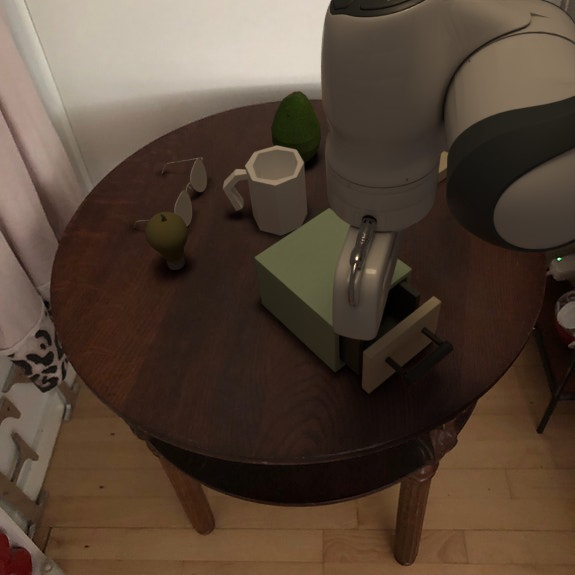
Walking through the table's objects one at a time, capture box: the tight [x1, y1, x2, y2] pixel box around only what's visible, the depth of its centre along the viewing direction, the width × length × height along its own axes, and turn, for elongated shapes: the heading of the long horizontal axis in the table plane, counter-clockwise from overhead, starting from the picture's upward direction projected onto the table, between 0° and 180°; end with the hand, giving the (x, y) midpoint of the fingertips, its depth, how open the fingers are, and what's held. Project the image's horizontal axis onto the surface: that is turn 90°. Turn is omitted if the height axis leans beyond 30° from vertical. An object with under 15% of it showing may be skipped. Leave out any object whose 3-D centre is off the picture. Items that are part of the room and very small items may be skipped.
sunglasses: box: [132, 157, 208, 229], centre depth 97 cm, size 14×8×5 cm, turn 168°
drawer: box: [339, 280, 455, 395], centre depth 75 cm, size 18×11×8 cm, turn 40°
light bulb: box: [145, 211, 189, 271], centre depth 86 cm, size 6×6×10 cm
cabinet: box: [253, 207, 413, 373], centre depth 79 cm, size 15×13×10 cm
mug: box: [222, 145, 308, 237], centre depth 91 cm, size 12×9×10 cm
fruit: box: [270, 90, 322, 164], centre depth 98 cm, size 8×8×12 cm
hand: (378, 286), depth 61 cm, fingers open, 8 cm apart
